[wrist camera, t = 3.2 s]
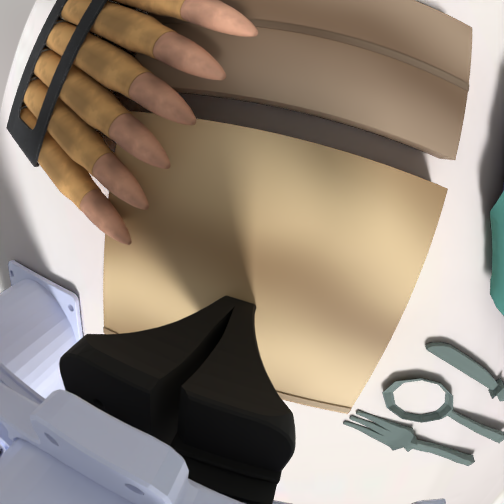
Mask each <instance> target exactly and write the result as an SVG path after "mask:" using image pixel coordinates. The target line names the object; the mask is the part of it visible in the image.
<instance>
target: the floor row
mask: <svg viewBox="0 0 504 504" xmlns="http://www.w3.org/2000/svg"><path fill="white" fill-rule="evenodd" d="M219 1H221V2H223V3H225V4H227V5H229V6H231V7H233V8H234V9H236V10H237V11H239V12H240V13H241V14H243V15H244V16H245V17H246V18H247V19H249V20H250V21H251V22H252V23H253V25H254V26H255V27H256V29H257V30H258V35H257V36H255V37H243V36H236V35H230V34H225V33H221V32H217V31H214V30H211V29H207V28H204V27H201V26H198V25H196V24H193V23H191V22H187V21H183V20H180V19H177V18H174V17H168V16H160V15H156V14H152V13H148V15H150V16H152V17H154V18H155V19H157V20H158V21H159V22H160V23H162V24H163V25H164V26H166V27H168V28H170V29H172V30H174V31H176V32H177V33H178V34H180V35H183V36H185V37H187V38H189V39H190V40H192V41H194V42H195V43H197V44H198V45H199V46H201V47H202V48H204V49H205V50H206V51H207V52H208V53H209V54H210V55H211V56H212V57H213V58H214V59H215V60H216V61H217V62H218V63H219V64H220V65H221V67H222V68H223V70H224V71H225V73H226V78H225V79H224V80H212V79H206V78H202V77H198V76H194V75H191V74H188V73H185V72H183V71H180V70H178V69H175V68H173V67H171V66H169V65H167V64H165V63H163V62H161V61H160V60H156V59H154V58H151V57H149V56H147V55H145V54H140V53H136V55H135V58H136V59H137V60H138V61H139V63H140V64H141V65H142V66H143V67H145V68H146V69H148V70H149V71H151V72H152V73H153V74H154V75H155V76H157V77H158V78H160V79H161V80H163V81H164V82H166V83H167V84H168V85H169V86H171V87H172V88H173V89H174V90H175V91H176V92H179V93H189V94H199V95H207V96H215V97H222V98H229V99H235V100H242V101H247V102H253V103H259V104H264V105H269V106H274V107H279V108H283V109H288V110H292V111H297V112H301V113H305V114H309V115H313V116H317V117H321V118H325V119H328V120H332V121H335V122H339V123H342V124H346V125H349V126H352V127H356V128H359V129H362V130H365V131H368V132H371V133H374V134H377V135H380V136H383V137H386V138H389V139H392V140H394V141H397V142H400V143H402V144H405V145H408V146H410V147H413V148H415V149H418V150H420V151H423V152H425V153H428V154H430V155H432V156H435V157H437V158H440V159H449V160H455V159H456V154H457V150H458V145H459V141H460V136H461V131H462V125H463V120H464V114H465V107H466V101H467V93H468V91H469V76H470V65H471V51H472V27H470V26H468V25H466V24H465V23H463V22H461V21H459V20H457V19H455V18H453V17H451V16H449V15H447V14H445V13H443V12H440V11H438V10H436V9H434V8H432V7H429V6H427V5H425V4H422V3H420V2H417V1H415V0H219Z"/></svg>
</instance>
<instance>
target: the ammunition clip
mask: <svg viewBox="0 0 504 504" xmlns="http://www.w3.org/2000/svg"><path fill="white" fill-rule="evenodd" d="M111 1H115V2H118V3H120V5H119V4H116V3H112V2H109V1H108V0H57V1H56V3H55V5H54V7H53V9H52V10H51V12H50V14H49V16H48V18H47V20H46V22H45V24H44V26H43V28H42V30H41V32H40V34H39V36H38V38H37V41H36V43H35V45H34V47H33V50H32V52H31V55H30V57H29V59H28V62H27V64H26V67H25V70H24V72H23V75H22V78H21V81H20V84H19V86H18V89H17V93H16V96H15V99H14V102H13V105H12V109H11V112H10V116H9V120H8V124H7V129H8V131H9V132H10V134H11V135H12V137H13V138H14V140H15V141H16V142H17V144H18V145H19V147H20V148H21V150H22V151H23V152H24V154H25V155H26V156H27V158H28V159H29V160H30V162H31V163H32V164H33V166H34V167H38V166H39V164H40V165H41V167H42V168H43V169H44V171H45V172H46V174H47V175H48V176H49V178H50V179H51V180H52V181H53V183H54V184H55V185H56V187H57V188H58V189H59V191H60V192H61V193H62V194H63V195H64V196H66V197H67V198H69V199H70V200H71V201H72V202H73V203H74V204H75V205H76V206H77V207H78V208H79V209H80V210H81V211H82V212H83V213H84V214H85V215H86V216H87V217H88V218H89V220H90V221H91V222H92V223H93V224H95V225H96V226H97V227H98V228H99V229H100V230H101V231H103V232H104V233H105V234H107V235H108V236H110V237H111V238H113V239H115V240H116V241H118V242H120V243H123V244H126V245H130V244H131V243H132V240H131V237H130V234H129V231H128V229H127V227H126V225H125V223H124V221H123V219H122V218H121V216H120V215H119V213H118V211H117V210H116V209H115V207H114V206H113V205H112V203H111V202H110V201H109V200H108V198H107V197H106V196H105V195H104V194H103V193H102V192H101V189H100V188H99V187H98V186H97V185H96V183H95V182H94V181H93V180H92V178H91V176H90V174H91V175H92V176H94V177H95V178H96V179H97V180H98V181H99V182H100V183H101V184H102V185H103V186H104V187H105V188H107V189H108V190H109V191H110V192H111V193H113V194H114V195H115V196H117V197H118V198H120V199H121V200H123V201H125V202H126V203H128V204H130V205H132V206H134V207H137V208H140V209H143V210H146V209H148V208H149V204H148V201H147V198H146V195H145V193H144V191H143V189H142V188H141V186H140V184H139V183H138V181H137V180H136V178H135V177H134V175H133V174H132V173H131V172H130V171H129V169H128V168H127V167H126V166H125V165H124V164H123V163H122V162H121V161H120V160H119V159H118V158H117V157H116V155H115V154H114V153H113V151H112V150H111V149H110V148H109V147H108V146H107V145H106V143H105V142H104V140H103V138H102V137H101V135H100V134H99V133H98V132H97V131H96V130H95V129H97V130H99V131H101V132H102V133H104V134H105V135H106V136H107V137H108V138H110V139H111V140H113V141H114V142H116V143H117V144H118V145H119V146H120V147H121V148H123V149H124V150H125V151H127V152H128V153H130V154H131V155H133V156H134V157H136V158H138V159H139V160H141V161H143V162H145V163H147V164H150V165H152V166H155V167H158V168H162V169H169V168H170V165H171V164H170V161H169V158H168V156H167V154H166V152H165V150H164V149H163V147H162V146H161V144H160V143H159V141H158V140H157V139H156V137H155V136H154V135H153V134H152V133H151V132H150V131H149V130H148V128H147V127H146V126H145V125H144V124H143V123H141V122H140V121H139V120H138V119H137V118H135V117H134V116H133V115H132V113H131V112H130V111H128V110H127V109H126V108H125V107H124V106H123V105H122V104H121V103H120V101H119V100H118V99H117V97H116V96H115V95H114V94H113V93H112V92H111V91H109V90H108V89H111V90H113V91H116V92H119V93H121V94H123V95H124V96H126V97H128V98H129V99H131V100H133V101H135V102H136V103H138V104H139V105H141V106H142V107H144V108H145V109H147V110H149V111H151V112H153V113H154V114H156V115H159V116H161V117H163V118H165V119H168V120H171V121H173V122H176V123H179V124H184V125H195V124H196V118H195V115H194V113H193V111H192V110H191V108H190V107H189V105H188V104H187V103H186V102H185V100H184V99H183V98H182V97H181V96H180V95H179V94H178V93H177V92H176V91H175V90H174V89H173V88H172V87H171V86H169V85H168V84H167V83H166V82H164V81H163V80H161V79H160V78H158V77H157V76H155V75H154V74H153V73H152V72H151V71H149V70H148V69H146V68H145V67H143V66H142V65H141V64H140V63H139V61H138V60H137V59H136V58H135V57H133V56H132V55H130V54H129V53H127V52H125V51H123V50H121V49H120V48H118V47H116V46H114V45H113V44H114V43H116V44H118V45H120V46H122V47H123V48H125V49H127V50H129V51H132V52H135V53H140V54H145V55H147V56H149V57H151V58H154V59H156V60H160V61H161V62H163V63H165V64H167V65H169V66H171V67H173V68H175V69H178V70H180V71H183V72H185V73H188V74H191V75H194V76H198V77H202V78H206V79H212V80H224V79H225V78H226V73H225V71H224V70H223V68H222V67H221V65H220V64H219V63H218V62H217V61H216V60H215V59H214V58H213V57H212V56H211V55H210V54H209V53H208V52H207V51H206V50H205V49H204V48H202V47H201V46H199V45H198V44H197V43H195V42H194V41H192V40H190V39H189V38H187V37H185V36H183V35H180V34H178V33H177V32H176V31H174V30H172V29H170V28H168V27H166V26H164V25H163V24H162V23H160V22H159V21H158V20H157V19H155V18H154V17H152V16H150V15H147V14H144V13H142V12H139V11H136V10H135V9H136V8H138V9H141V10H144V11H147V12H149V13H152V14H156V15H160V16H168V17H174V18H177V19H180V20H183V21H187V22H191V23H193V24H196V25H198V26H201V27H204V28H207V29H211V30H214V31H217V32H221V33H225V34H230V35H236V36H243V37H255V36H257V35H258V30H257V29H256V27H255V26H254V25H253V23H252V22H251V21H250V20H249V19H247V18H246V17H245V16H244V15H243V14H241V13H240V12H239V11H237V10H236V9H234V8H233V7H231V6H229V5H227V4H225V3H223V2H221V1H219V0H111ZM89 31H91V32H93V33H95V34H97V35H99V36H101V37H102V38H99V37H97V36H95V35H93V34H91V33H89ZM97 81H98V82H97ZM101 84H102V85H101ZM104 86H105V87H106V88H105V87H104ZM107 88H108V89H107ZM94 128H95V129H94ZM37 161H38V162H37ZM38 163H39V164H38ZM89 173H90V174H89Z"/></svg>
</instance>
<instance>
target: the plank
mask: <svg viewBox="0 0 504 504" xmlns="http://www.w3.org/2000/svg"><path fill="white" fill-rule="evenodd" d="M130 112H131V113H132V115H133V116H134V117H135V118H137V119H138V120H139V121H140V122H141V123H143V124H144V125H145V126H146V127H147V128H148V130H149V131H150V132H151V133H152V134H153V135H154V136H155V137H156V139H157V140H158V141H159V143H160V144H161V146H162V147H163V149H164V150H165V152H166V154H167V156H168V158H169V161H170V164H171V165H170V168H169V169H162V168H158V167H155V166H152V165H150V164H147V163H145V162H143V161H141V160H139V159H138V158H136V157H134V156H133V155H131V154H130V153H128V152H127V151H125V150H124V149H123V148H121V147H120V146H119V145H118V144H117V143H116V148H115V155H116V157H117V158H118V159H119V160H120V161H121V162H122V163H123V164H124V165H125V166H126V167H127V168H128V169H129V171H130V172H131V173H132V174H133V175H134V177H135V178H136V180H137V181H138V183H139V184H140V186H141V188H142V189H143V191H144V193H145V195H146V198H147V201H148V204H149V208H148V209H146V210H143V209H140V208H137V207H134V206H132V205H130V204H128V203H126V202H125V201H123V200H121V199H120V198H118V197H117V196H115V195H114V194H113V193H111V192H110V191H109V198H108V200H109V201H110V202H111V203H112V205H113V206H114V207H115V209H116V210H117V211H118V213H119V215H120V216H121V218H122V219H123V221H124V223H125V225H126V227H127V229H128V231H129V234H130V237H131V240H132V243H131V244H130V245H126V244H123V243H120V242H118V241H116V240H115V239H113V238H111V237H110V236H108V235H107V234H105V248H104V278H103V305H104V328H103V330H104V334H121V333H131V332H138V331H143V330H147V329H152V328H157V327H160V326H164V325H167V324H170V323H173V322H176V321H178V320H181V319H183V318H185V317H187V316H189V315H192V314H194V313H196V312H197V311H199V310H201V309H203V308H205V307H207V306H208V305H210V304H212V303H213V302H215V301H217V300H218V299H220V298H222V297H224V296H226V295H227V296H230V297H233V298H236V299H240V300H243V301H246V302H249V303H253V304H255V305H256V307H257V308H256V311H255V332H256V339H257V344H258V349H259V352H260V356H261V359H262V362H263V365H264V367H265V370H266V372H267V374H268V376H269V378H270V380H271V382H272V384H273V386H274V388H275V390H276V391H277V393H278V395H279V396H280V398H281V399H282V400H286V401H290V402H294V403H299V404H303V405H307V406H311V407H316V408H321V409H325V410H330V411H335V412H340V413H346V414H348V413H349V412H350V410H351V408H352V406H353V405H354V403H355V401H356V400H357V398H358V397H359V395H360V393H361V392H362V390H363V388H364V387H365V385H366V383H367V382H368V380H369V378H370V376H371V375H372V373H373V371H374V369H375V367H376V366H377V364H378V362H379V360H380V358H381V357H382V355H383V353H384V351H385V349H386V347H387V345H388V343H389V341H390V339H391V337H392V335H393V333H394V331H395V329H396V327H397V325H398V323H399V321H400V319H401V316H402V314H403V312H404V310H405V308H406V305H407V303H408V301H409V299H410V296H411V294H412V292H413V289H414V287H415V284H416V282H417V280H418V277H419V275H420V272H421V269H422V267H423V264H424V262H425V259H426V256H427V253H428V251H429V248H430V245H431V242H432V239H433V236H434V233H435V230H436V227H437V224H438V221H439V218H440V214H441V211H442V208H443V204H444V201H445V197H446V193H447V190H448V189H447V188H445V187H442V186H440V185H438V184H435V183H433V182H430V181H428V180H425V179H423V178H420V177H418V176H415V175H412V174H410V173H407V172H404V171H402V170H399V169H396V168H394V167H391V166H388V165H385V164H382V163H379V162H376V161H373V160H370V159H367V158H364V157H361V156H358V155H355V154H351V153H348V152H345V151H342V150H338V149H335V148H331V147H328V146H324V145H321V144H317V143H313V142H309V141H305V140H302V139H298V138H294V137H289V136H285V135H281V134H277V133H272V132H268V131H263V130H258V129H253V128H248V127H243V126H238V125H233V124H227V123H221V122H215V121H209V120H203V119H196V124H195V125H184V124H179V123H176V122H173V121H171V120H168V119H165V118H163V117H161V116H159V115H156V114H154V113H145V112H134V111H130Z"/></svg>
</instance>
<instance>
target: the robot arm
mask: <svg viewBox="0 0 504 504" xmlns="http://www.w3.org/2000/svg"><path fill="white" fill-rule="evenodd" d="M8 268H9V274H10V280H11V287H9V288H8V289H6V290H4V291H3V292H1V293H0V504H291V503H285V502H280V501H275V500H273V499H274V495H275V490H276V486H277V484H278V483H279V481H280V477H281V472H282V470H283V468H284V467H285V466H286V464H287V463H288V461H289V460H290V459H291V457H292V456H293V453H294V450H295V424H294V418H293V413H292V412H291V410H290V409H289V408H288V407H287V405H286V404H285V403H284V402H283V400H282V399H281V398H280V396H279V395H278V393H277V391H276V390H275V388H274V386H273V384H272V382H271V380H270V378H269V376H268V374H267V372H266V370H265V367H264V365H263V362H262V359H261V356H260V352H259V349H258V344H257V339H256V332H255V311H256V308H257V307H256V305H255V304H253V303H249V302H246V301H243V300H240V299H236V298H233V297H230V296H227V295H226V296H224V297H222V298H220V299H218V300H217V301H215V302H213V303H212V304H210V305H208V306H207V307H205V308H203V309H201V310H199V311H197V312H196V313H194V314H192V315H189V316H187V317H185V318H183V319H181V320H178V321H176V322H173V323H170V324H167V325H164V326H160V327H157V328H152V329H147V330H143V331H138V332H131V333H121V334H86V335H85V336H84V337H83V333H82V326H81V317H80V308H79V300H78V297H77V296H76V294H74V293H73V292H71V291H69V290H67V289H65V288H63V287H61V286H59V285H57V284H55V283H54V282H52V281H50V280H48V279H46V278H44V277H42V276H40V275H39V274H37V273H35V272H33V271H31V270H30V269H28V268H26V267H24V266H23V265H21V264H19V263H17V262H16V261H14V260H11V261H9V263H8ZM412 504H446V501H445V499H433V500H422V501H417V502H414V503H412Z"/></svg>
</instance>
